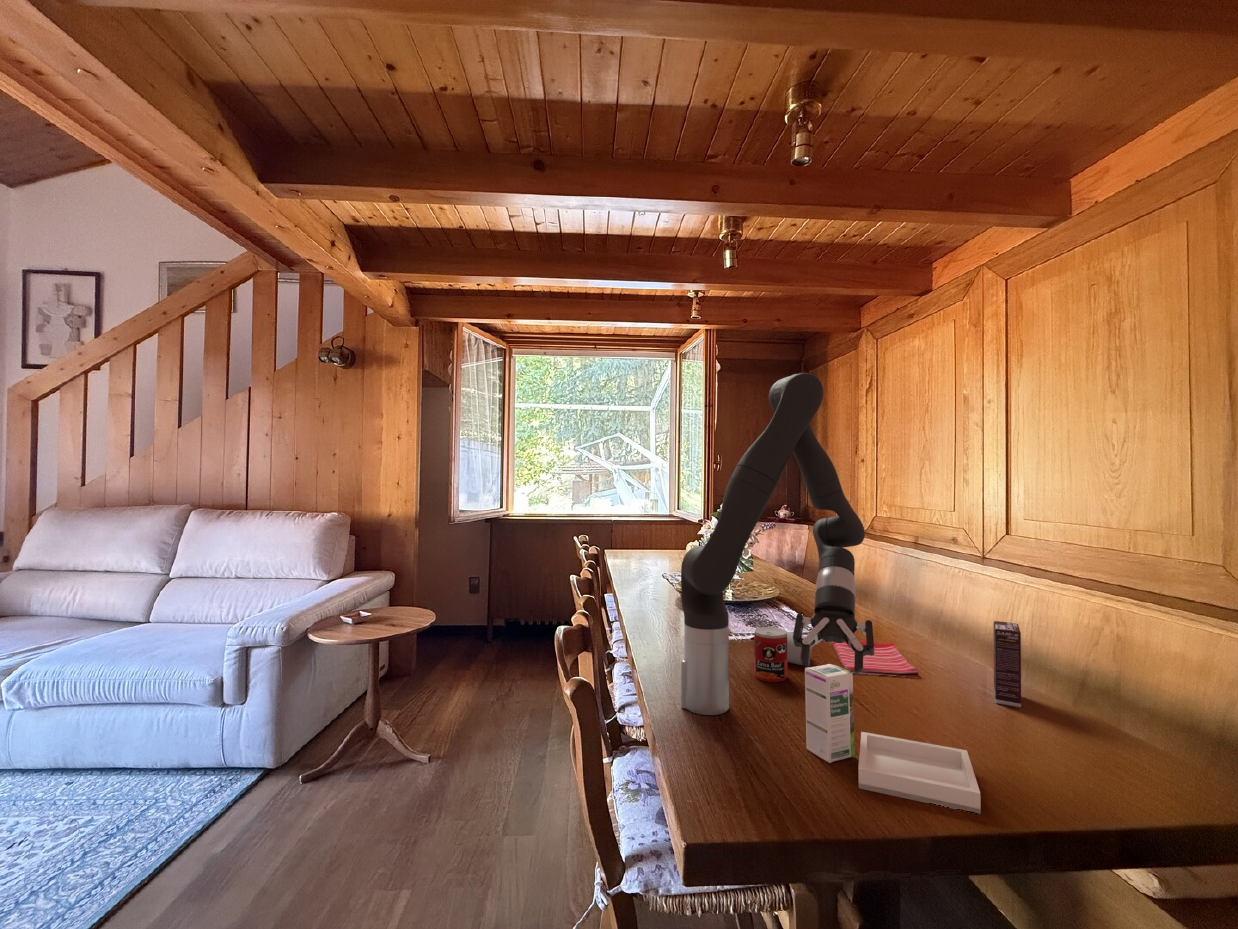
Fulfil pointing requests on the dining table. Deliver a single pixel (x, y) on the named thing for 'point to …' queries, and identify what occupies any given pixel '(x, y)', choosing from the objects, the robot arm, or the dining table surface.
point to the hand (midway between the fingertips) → (831, 669)
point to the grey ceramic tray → (918, 772)
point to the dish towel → (877, 660)
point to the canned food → (770, 654)
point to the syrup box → (829, 712)
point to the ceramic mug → (794, 650)
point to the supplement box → (1007, 663)
